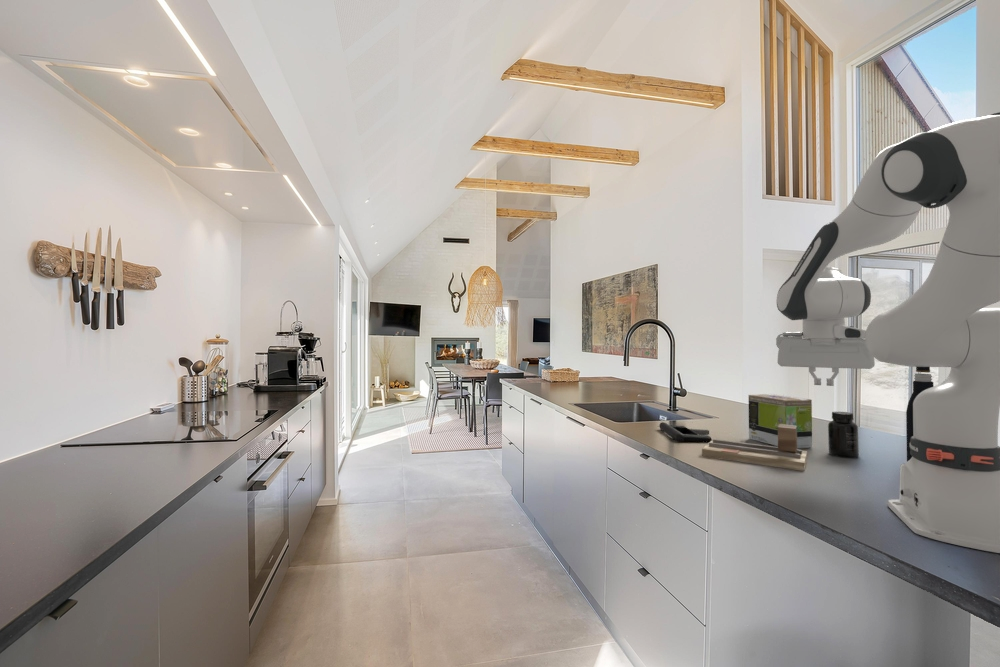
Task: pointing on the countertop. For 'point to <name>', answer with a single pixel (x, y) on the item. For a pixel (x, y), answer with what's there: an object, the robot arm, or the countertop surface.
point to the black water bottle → (919, 385)
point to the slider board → (755, 454)
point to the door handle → (685, 433)
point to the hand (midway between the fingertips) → (823, 385)
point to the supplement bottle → (843, 435)
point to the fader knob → (787, 438)
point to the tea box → (779, 418)
